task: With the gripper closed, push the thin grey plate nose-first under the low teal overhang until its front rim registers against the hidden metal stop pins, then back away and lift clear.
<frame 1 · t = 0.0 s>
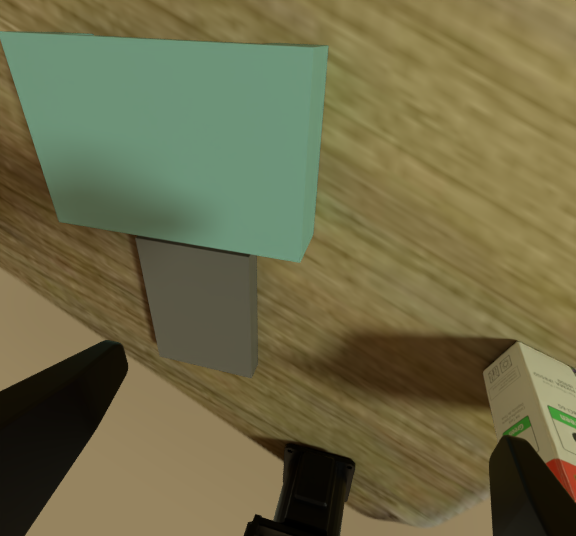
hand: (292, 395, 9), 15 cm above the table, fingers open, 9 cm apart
overhang: (190, 138, 22), on the table
thin grey plate: (207, 301, 28), on the table
ink box: (551, 380, 24), on the table
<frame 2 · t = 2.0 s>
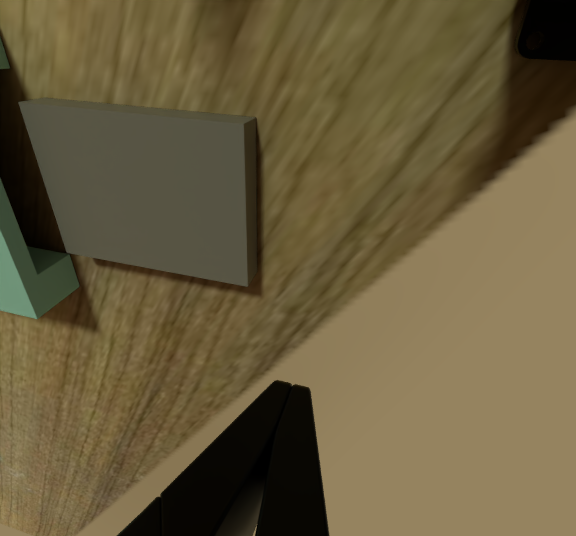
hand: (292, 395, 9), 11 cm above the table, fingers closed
thin grey plate: (156, 189, 19), on the table
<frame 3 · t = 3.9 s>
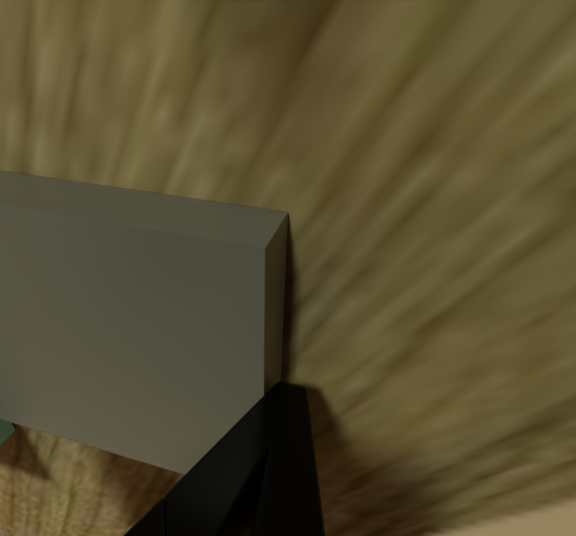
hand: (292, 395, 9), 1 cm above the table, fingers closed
thin grey plate: (94, 315, 11), on the table, touching gripper
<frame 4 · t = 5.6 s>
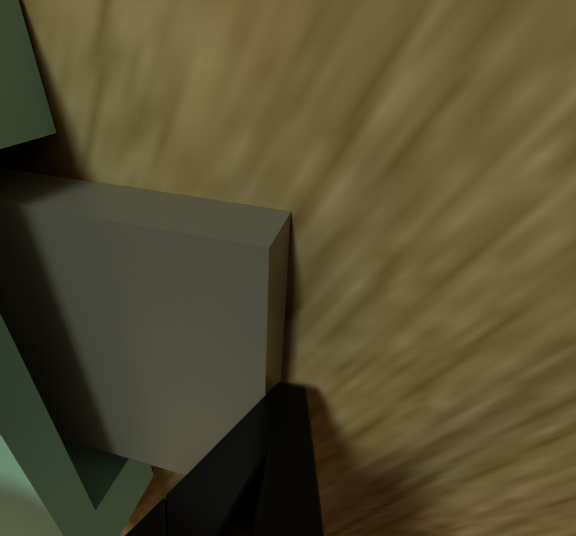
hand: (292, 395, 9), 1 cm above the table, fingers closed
thin grey plate: (92, 314, 10), on the table, touching gripper
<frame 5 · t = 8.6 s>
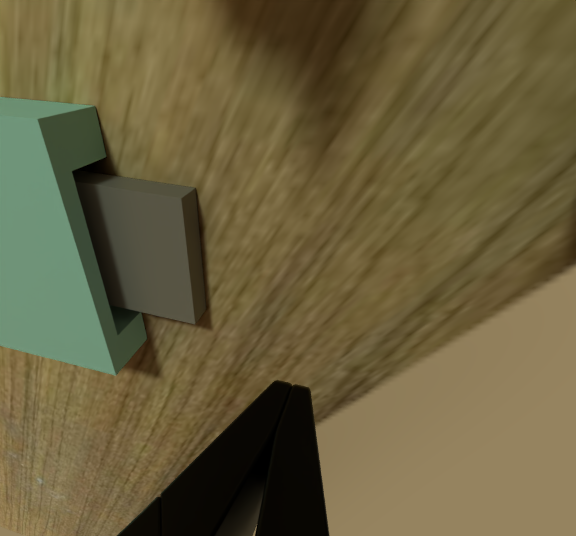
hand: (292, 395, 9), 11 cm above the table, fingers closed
overhang: (55, 231, 23), on the table
thin grey plate: (117, 238, 22), on the table
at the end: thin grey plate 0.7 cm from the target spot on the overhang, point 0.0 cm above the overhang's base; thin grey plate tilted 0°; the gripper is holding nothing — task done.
